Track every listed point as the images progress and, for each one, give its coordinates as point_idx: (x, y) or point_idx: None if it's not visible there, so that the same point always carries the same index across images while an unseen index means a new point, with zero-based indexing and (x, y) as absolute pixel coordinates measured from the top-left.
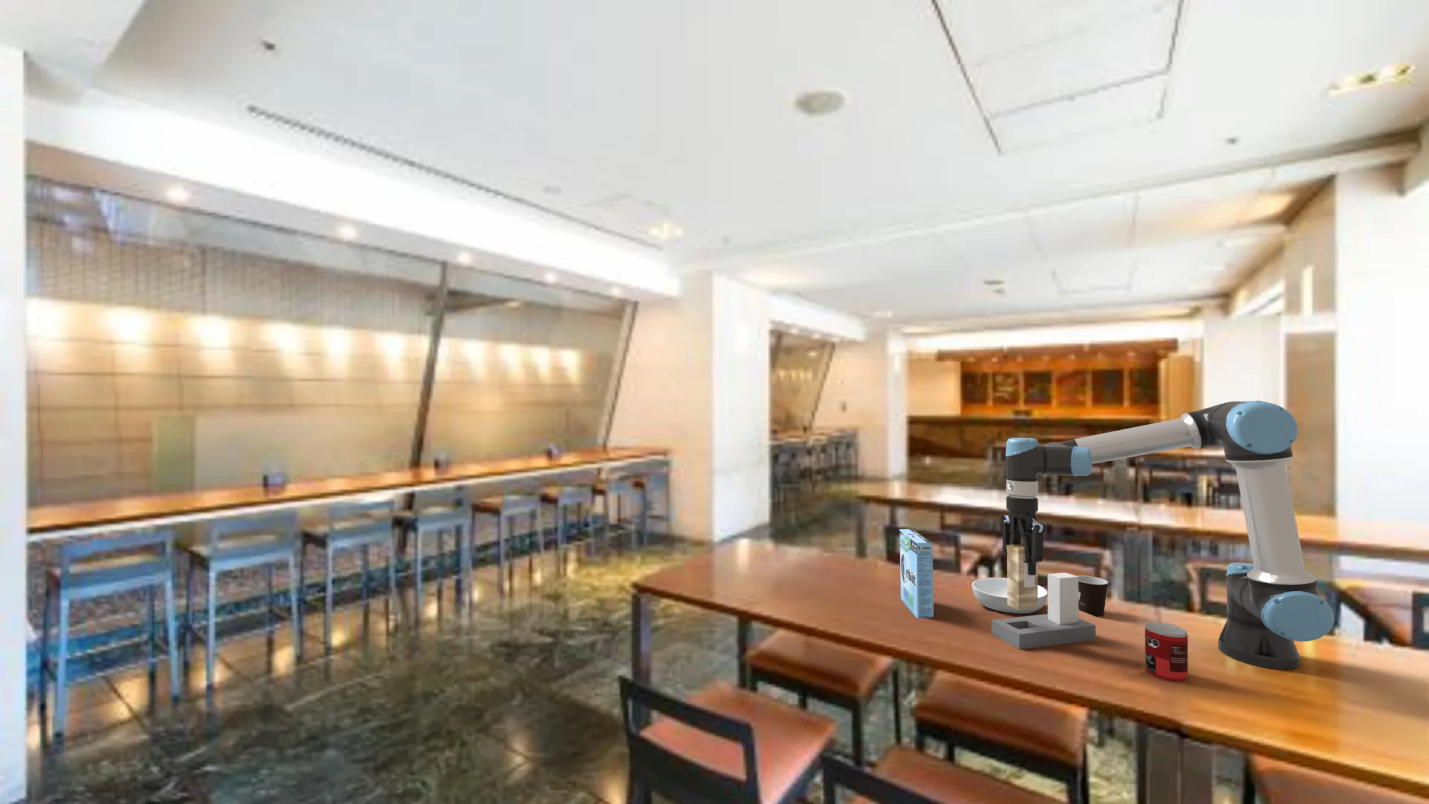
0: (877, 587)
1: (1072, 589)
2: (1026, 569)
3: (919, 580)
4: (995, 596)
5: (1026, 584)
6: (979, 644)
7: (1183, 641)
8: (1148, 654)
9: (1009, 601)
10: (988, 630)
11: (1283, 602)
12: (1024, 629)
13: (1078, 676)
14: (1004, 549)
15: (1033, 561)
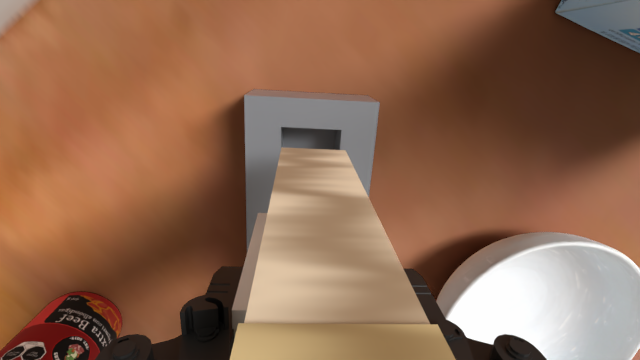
0: None
1: None
2: (242, 277)
3: None
4: (514, 253)
5: (256, 223)
6: (345, 21)
7: None
8: (64, 323)
9: (335, 154)
10: (417, 132)
11: None
12: (274, 145)
13: (97, 131)
14: (522, 356)
15: (127, 339)
